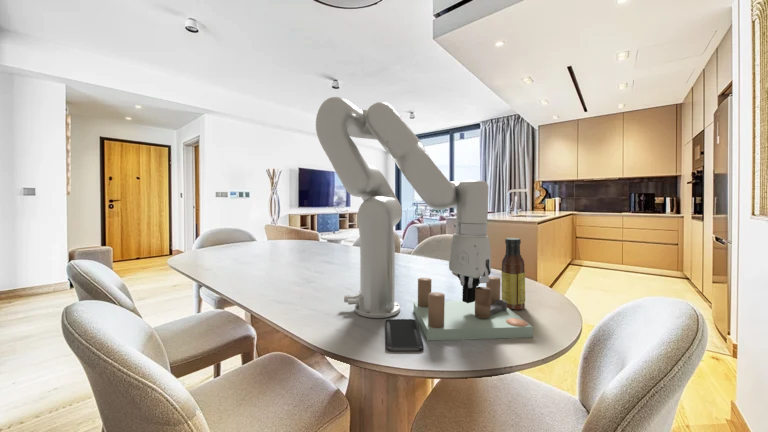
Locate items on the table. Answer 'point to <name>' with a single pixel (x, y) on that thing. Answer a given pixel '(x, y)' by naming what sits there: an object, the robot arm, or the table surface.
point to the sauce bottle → (513, 275)
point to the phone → (403, 336)
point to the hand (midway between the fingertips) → (468, 301)
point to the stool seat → (465, 317)
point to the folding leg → (487, 303)
